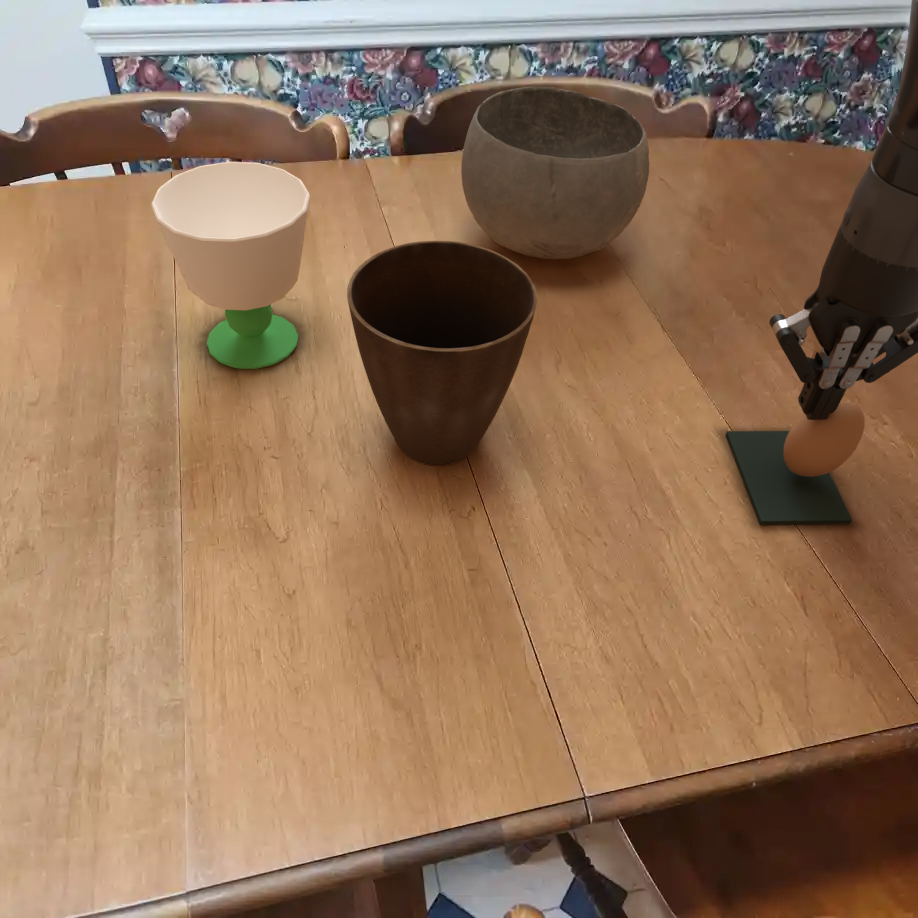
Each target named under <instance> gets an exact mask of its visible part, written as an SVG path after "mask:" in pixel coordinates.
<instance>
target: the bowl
mask: <svg viewBox="0 0 918 918" xmlns="http://www.w3.org/2000/svg"><path fill="white" fill-rule="evenodd" d="M648 141H649V140H648V137H647V133H646V131H645V128H644V126H643V125H642V123H641V122H640V121H639V119H638V118H636V117H635V116H634V114H633V113H632V112H631V111H629V110H628V109H626V108H625V107H622V106H620V105H619V104H616V103H614V102H611V101H607V100H604V99H601V98H597V97H594V96H592V95H589V94H586V93H585V92H580V91H576V90H571V89H568V90H566V89H564V88H558V87H555V86H554V87H553V86H537V85H534V86H524V87H516V88H511V89H507V90H502V91H498V92H496V93H494V94H492V95H490V96H489V97H486V98H485V99H484V101H482V102H481V103H480V104H479V106H477V108H476V109H475V112H474V114H473V117H472V118H471V122H470V124H469V126H468V129H467V133H466V136H465V140H464V144H463V149H462V156H461V166H460V167H461V168H460V169H461V172H460V173H461V185H462V186H461V187H462V190H463V194H464V198H465V201H466V204H467V207H468V209H469V211H470V214H471V215H472V216H473V219H474V220H475V221H476V223H477V224H478V226H479V227H480V228H481V230H483V231H484V233H485V234H486V235H487V236H488V237H489V238H490V239H491V240H492V241H494V242H495V243H496V244H498V245H500V246H502V247H503V248H506V249H508V250H510V251H513V252H515V253H517V254H520V255H523V256H526V257H530V258H536V259H541V260H542V259H543V260H567V259H575V258H580V257H582V256H586V255H589V254H592V253H594V252H597V251H599V250H601V249H603V248H605V247H606V246H608V245H609V244H610V243H612V242H613V241H615V239H617V238H618V237H619V236H620V235H621V234H622V233H623V232H624V230H625V229H626V228H627V227H628V226H629V225H630V223H631V222H632V220H633V219H634V218H635V216H636V214H637V212H638V211H639V208H640V207H641V205H642V202H643V200H644V198H645V194H646V190H647V185H648V181H649V175H650V155H649V154H650V148H649V142H648Z"/></svg>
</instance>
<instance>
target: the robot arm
mask: <svg viewBox="0 0 918 918" xmlns="http://www.w3.org/2000/svg"><path fill="white" fill-rule="evenodd" d="M902 64H903V65H902V69H901V76H900V80H899V84H898V89H897V93H896V97H895V101H894V103H893V107H892V109H891V112H890V114H889V116H888V119H887V122H886V123H885V126H884V128H883V131H882V133H881V136H880V138H879V141H878V144H877V145H876V148H875V150H874V153H873V155H872V158H871V160H870V162H869V164H868V166H867V168H866V169H865V171H864V173H863V175H862V176H861V178H860V179H859V181H858V183H857V185H856V187H855V189H854V191H853V193H852V196H851V198H850V200H849V202H848V205H847V207H846V209H845V212H844V214H843V216H842V220H841V222H840V224H839V227H838V230H837V232H836V235H835V236H834V240H833V242H832V244H831V246H830V248H829V251H828V254H827V256H826V259H825V261H824V264H823V266H822V269H821V273H820V278H819V282H818V286H817V288H816V289H815V291H814V292H813V293H811V294H810V296H809V297H807V299H806V300H805V302H804V304H803V309H802V310H800V311H797V312H796V313H794V314H791V315H790V316H788V317H786V316H785V315H784V314H783V313H777V314H774V315H773V316H771V317H770V318H769V321H768V322H769V323H768V324H769V326H770V328H771V329H772V332H773V334H774V336H775V338H776V340H777V342H778V344H779V346H780V347H781V349H782V352H783V353H784V355H785V357H786V358H787V359H788V362H789V364H790V365H791V367H792V368H793V370H794V372H795V374H796V375H797V377H798V379H799V380H800V382H801V383H804V384H803V386H802V389H801V390H800V393H799V395H798V397H797V399H798V404H799V406H800V408H801V410H802V413H803V414H804V415H806V417H807V419H808V420H826V419H827V418H828V416H829V414H830V413H833V412H834V411H835V410H836V409H837V407H838V405H839V403H840V401H842V399H843V397H844V395H845V394H846V391H847V389H850V388H852V387H853V386H854V384H856V382H858V381H859V382H860V381H862V380H863V381H864V383H866V384H867V383H868V384H872V383H874V382H876V381H877V380H879V379H880V378H882V377H884V376H885V375H887V374H888V373H890V372H891V371H893V370H894V369H896V368H897V367H899V366H900V365H901V364H903V363H905V362H907V361H908V360H910V359H911V358H912V357H914V356H915V355H917V354H918V0H911V2H910V13H909V24H908V32H907V39H906V47H905V53H904V59H903V63H902ZM809 327H811V330H812V332H813V334H814V339H813V345H814V349H813V352H812V355H811V357H809V356H807V354H806V353H805V351H804V349H803V347H802V346H803V345H805V343H806V341H805V340H806V338H807V330H808V328H809ZM883 354H885V356H884V357H883V358H881V359H879V360H878V361H877V362H875V363H874V360H875V359H877V358H878V357H880V356H881V355H883Z"/></svg>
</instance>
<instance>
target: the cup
mask: <svg viewBox="0 0 918 918" xmlns="http://www.w3.org/2000/svg"><path fill="white" fill-rule="evenodd" d="M310 199H311V194H310V192H309V191H308V189H307V187H306V186H305V183H304V182H303V180H301V179H300V178H299V177H297V176H296V175H293V174H292V173H291V172H289V171H287V170H285V169H283V168H280V167H277V166H272V165H268V164H264V163H261V162H249V161H243V162H242V161H225V162H218V163H212V164H204V165H199V166H197V167H194V168H191V169H189V170H186V171H183V172H181V173H178V174H175V175H174V176H173V177H171V178H170V179H169V180H168V181H166V182H165V183H163V184H162V185H161V186H159V187H158V189H157V191H156V193H155V195H154V197H153V200H152V201H151V203H150V206H151V209H152V211H153V215H154V217H155V220H156V223H157V225H158V226H159V229H160V231H161V233H162V235H163V237H164V240H165V241H166V244H167V246H168V248H169V250H170V252H171V254H172V257H173V259H174V261H175V264H176V265H177V268H178V269H179V271H180V274H181V276H182V278H183V280H184V282H185V285H186V287H187V289H188V290H189V291H190V292H191V293H192V294H193V295H194V296H196V297H197V298H199V299H200V300H201V301H203V302H204V303H205V304H206V305H209V306H211V307H215V308H219V309H221V310H224V317H225V319H224V320H222V321H220V322H219V323H218V324H217V325H216V326H215V327H214V328H213V329H212V330H211V331H210V332H209V335H208V336H207V342H206V346H207V350H208V352H209V355H210V356H211V357H212V358H214V359H215V360H216V361H217V362H219V364H222V365H225V366H228V367H231V368H235V369H237V370H238V369H239V370H240V369H244V370H257V369H262V368H266V367H270V366H274V365H276V364H278V363H280V362H281V361H283V360H286V359H287V358H289V356H290V355H291V354H292V353H293V351H294V350H295V349H296V348H297V346H298V341H299V334H298V331H297V330H296V328H295V326H294V324H293V323H291V322H290V321H288V320H287V319H286V318H284V317H283V316H280V315H276V314H274V313H273V312H274V311H273V308H272V306H271V305H272V304H274V303H276V302H279V301H280V300H282V299H283V298H284V297H285V296H286V295H287V294H288V293H290V291H291V290H292V289H293V288H294V286H295V285H296V283H297V282H298V280H299V275H300V269H301V263H302V256H303V249H304V242H305V234H306V228H307V220H308V212H309V206H310Z"/></svg>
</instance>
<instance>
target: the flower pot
mask: <svg viewBox="0 0 918 918" xmlns="http://www.w3.org/2000/svg"><path fill="white" fill-rule="evenodd" d="M346 299H347V303H348V304H347V305H348V309H349V313H350V318H351V322H352V327H353V332H354V336H355V340H356V344H357V347H358V351H359V355H360V358H361V362H362V364H363V369H364V372H365V375H366V377H367V380H368V383H369V386H370V388H371V391H372V394H373V396H374V399H375V401H376V404H377V406H378V408H379V411H380V414H381V416H382V418H383V419H384V422H385V424H386V425H387V428H388V430H389V431H390V433H391V435H392V437H393V439H394V441H395V443H396V445H397V446H398V448H399V449H400V451H401V452H402V453H403V454H404V455H405V456H406V457H408V458H409V459H411V460H413V461H415V462H417V463H420V464H423V465H427V466H431V467H433V466H435V467H442V466H443V467H444V466H450V465H453V464H457V463H459V462H462V461H464V460H465V459H466V458H468V457H469V456H471V454H473V452H474V451H475V449H476V448H477V447H478V445H479V443H480V442H481V440H482V439H483V437H484V436H485V434H486V433H487V431H488V429H489V428H490V426H491V424H492V422H493V421H494V418H495V416H496V415H497V413H498V411H499V409H500V407H501V405H502V403H503V401H504V399H505V397H506V394H507V393H508V390H509V388H510V386H511V383H512V381H513V378H514V376H515V374H516V371H517V368H518V366H519V364H520V361H521V358H522V355H523V352H524V349H525V346H526V343H527V339H528V336H529V333H530V329H531V326H532V323H533V320H534V317H535V312H536V309H537V306H538V294H537V289H536V287H535V284H534V281H532V278H531V277H530V276H529V275H528V273H527V272H526V271H525V270H524V268H522V267H521V266H519V265H518V264H517V263H516V262H514V261H513V260H511V259H510V258H508V257H506V256H505V255H503V254H501V253H498V252H496V251H494V250H491V249H488V248H485V247H483V246H479V245H475V244H471V243H465V242H461V241H452V240H451V241H450V240H423V241H414V242H407V243H403V244H399V245H395V246H392V247H389V248H387V249H384V250H382V251H379V252H377V253H376V254H374V255H372V256H370V257H369V258H368V259H366V260H364V261H363V262H362V263H361V264H360V265H359V266H357V268H356V269H355V270H354V271H353V273H352V274H351V277H350V279H349V281H348V284H347V289H346Z"/></svg>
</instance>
